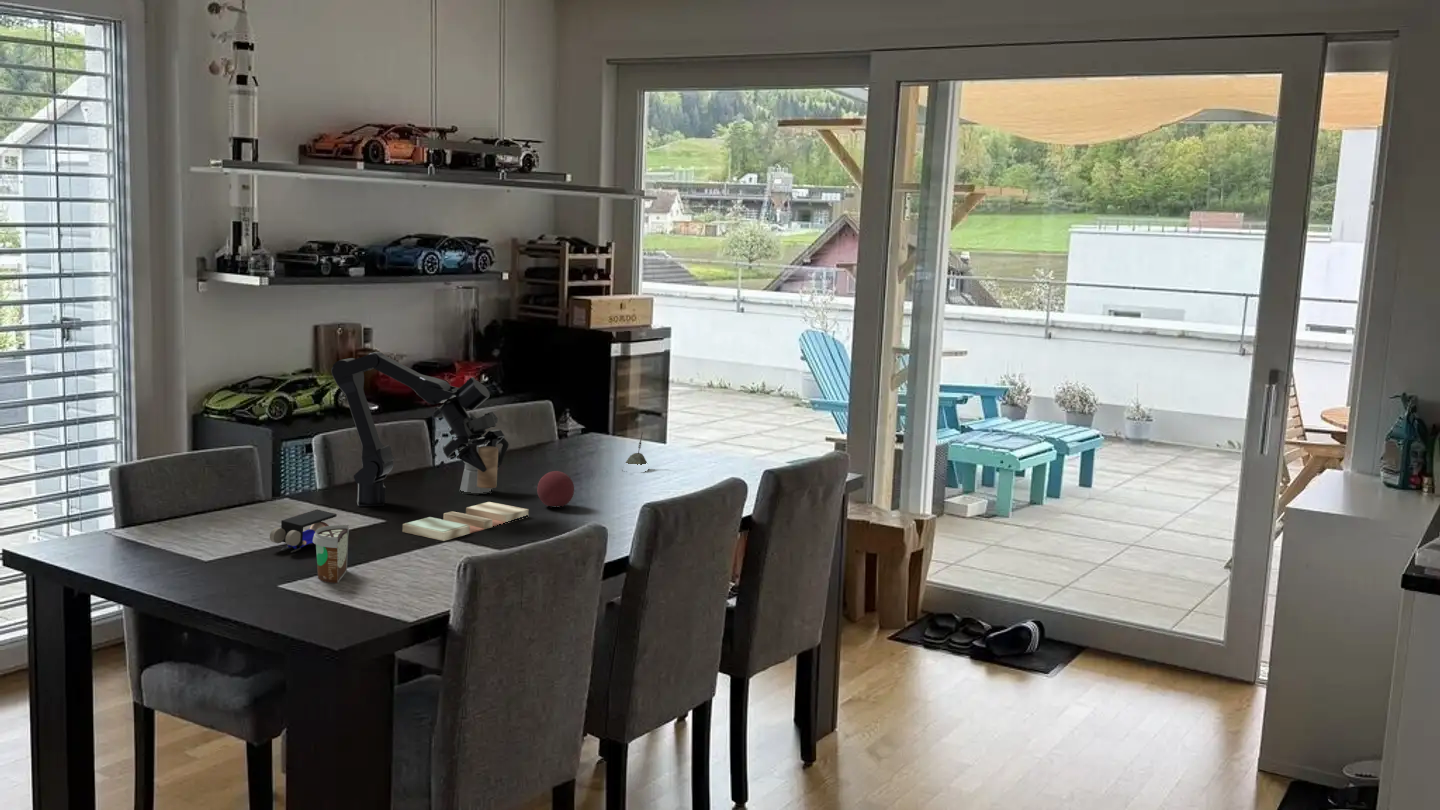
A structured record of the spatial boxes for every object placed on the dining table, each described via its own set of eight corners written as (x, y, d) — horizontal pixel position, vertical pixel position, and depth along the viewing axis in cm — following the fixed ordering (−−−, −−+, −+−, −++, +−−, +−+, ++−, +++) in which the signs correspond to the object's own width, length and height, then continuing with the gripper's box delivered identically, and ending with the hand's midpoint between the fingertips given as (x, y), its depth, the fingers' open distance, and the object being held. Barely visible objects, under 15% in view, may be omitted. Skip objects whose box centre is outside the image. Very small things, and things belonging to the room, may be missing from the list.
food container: (319, 568, 277) (319, 523, 276) (348, 569, 278) (349, 524, 276) (305, 584, 265) (306, 537, 264) (336, 585, 266) (337, 538, 264)
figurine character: (292, 562, 286) (339, 541, 299) (290, 530, 284) (337, 510, 297) (269, 557, 288) (317, 536, 302) (267, 525, 286) (314, 506, 300)
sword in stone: (640, 474, 399) (642, 437, 398) (618, 471, 402) (620, 434, 401) (654, 469, 409) (656, 433, 407) (632, 466, 411) (634, 430, 410)
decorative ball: (558, 501, 354) (559, 466, 353) (580, 509, 347) (582, 472, 346) (529, 505, 347) (530, 469, 346) (551, 513, 340) (552, 476, 339)
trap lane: (488, 509, 341) (489, 501, 340) (528, 516, 335) (528, 508, 334) (402, 532, 312) (402, 523, 311) (443, 540, 306) (444, 532, 305)
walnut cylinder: (478, 488, 325) (480, 449, 324) (475, 484, 330) (477, 446, 328) (498, 488, 327) (500, 449, 326) (494, 484, 332) (496, 446, 330)
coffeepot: (456, 496, 354) (457, 432, 351) (449, 488, 362) (451, 426, 360) (510, 494, 360) (512, 431, 357) (502, 487, 368) (505, 426, 366)
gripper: (454, 405, 319) (487, 455, 316) (500, 399, 335) (532, 446, 332) (428, 432, 324) (461, 481, 320) (475, 424, 340) (506, 471, 337)
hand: (491, 469), depth 327 cm, fingers closed on walnut cylinder, 5 cm apart
